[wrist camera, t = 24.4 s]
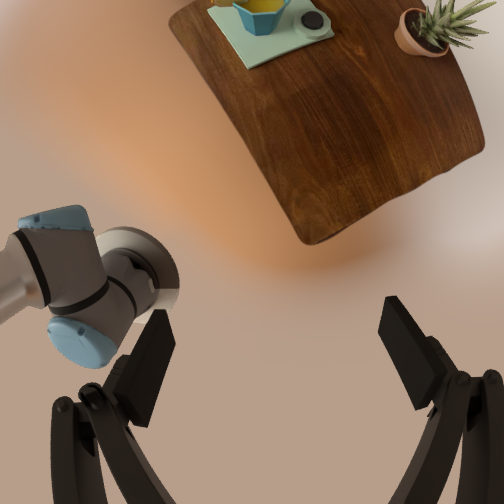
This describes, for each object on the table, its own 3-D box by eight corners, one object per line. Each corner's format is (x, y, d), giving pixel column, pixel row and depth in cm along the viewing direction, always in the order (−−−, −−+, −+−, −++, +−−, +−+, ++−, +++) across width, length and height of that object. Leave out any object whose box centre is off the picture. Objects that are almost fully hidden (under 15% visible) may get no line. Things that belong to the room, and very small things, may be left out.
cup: (290, -7, 29) (301, -55, 15) (314, 25, 31) (338, -18, 17) (214, 23, 32) (196, -22, 18) (237, 55, 34) (228, 17, 20)
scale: (248, 70, 36) (247, 65, 33) (207, 12, 31) (204, 5, 29) (333, 36, 33) (337, 30, 30) (290, -19, 28) (292, -27, 25)
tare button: (308, 31, 31) (310, 27, 29) (298, 18, 30) (300, 13, 28) (324, 26, 30) (327, 22, 29) (314, 13, 29) (316, 8, 28)
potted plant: (419, 23, 29) (499, -15, 6) (433, 65, 33) (526, 45, 10) (377, 17, 30) (450, -40, 7) (391, 61, 34) (483, 24, 11)
